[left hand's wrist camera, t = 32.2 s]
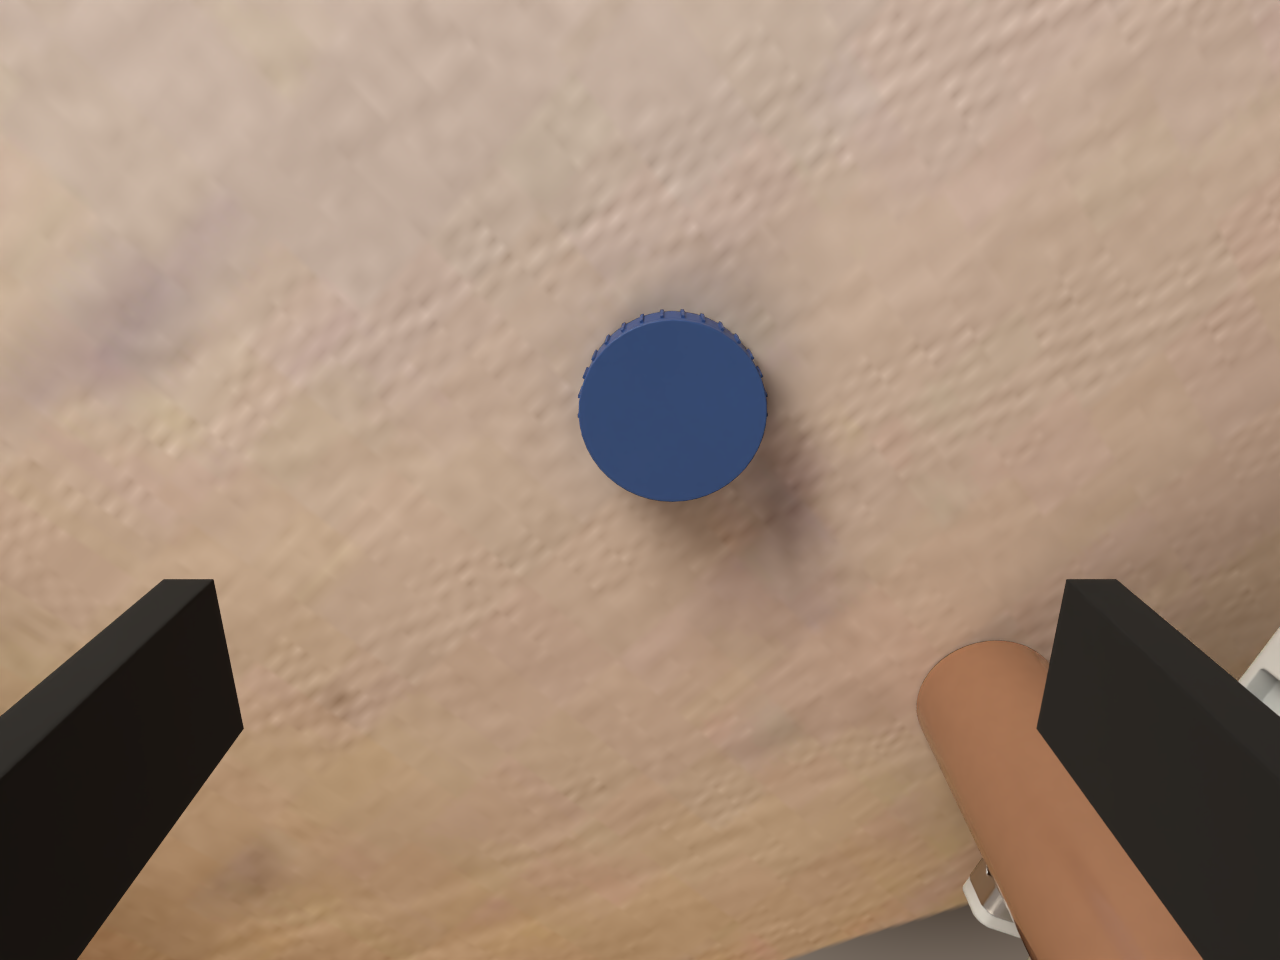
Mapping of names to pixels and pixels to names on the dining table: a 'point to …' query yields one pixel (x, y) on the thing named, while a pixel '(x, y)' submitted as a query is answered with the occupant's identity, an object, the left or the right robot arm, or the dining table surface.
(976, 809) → the jar
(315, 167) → the dining table surface
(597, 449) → the lid
